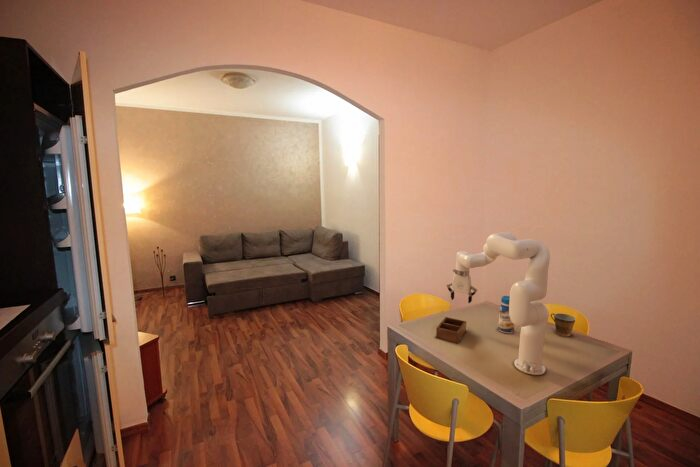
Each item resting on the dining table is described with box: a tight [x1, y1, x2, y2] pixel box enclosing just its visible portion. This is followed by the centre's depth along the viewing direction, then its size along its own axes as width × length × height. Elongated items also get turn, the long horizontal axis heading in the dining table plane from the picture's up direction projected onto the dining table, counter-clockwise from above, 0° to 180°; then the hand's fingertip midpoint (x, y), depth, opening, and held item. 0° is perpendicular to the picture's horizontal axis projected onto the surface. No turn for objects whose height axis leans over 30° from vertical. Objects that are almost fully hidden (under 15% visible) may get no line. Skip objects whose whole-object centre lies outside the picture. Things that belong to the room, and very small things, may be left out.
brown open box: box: [435, 316, 467, 344], centre depth 182 cm, size 6×12×19 cm
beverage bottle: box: [497, 295, 515, 334], centre depth 183 cm, size 8×8×20 cm
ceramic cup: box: [550, 312, 576, 337], centre depth 181 cm, size 13×10×10 cm
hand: (461, 300), depth 187 cm, fingers open, 9 cm apart
